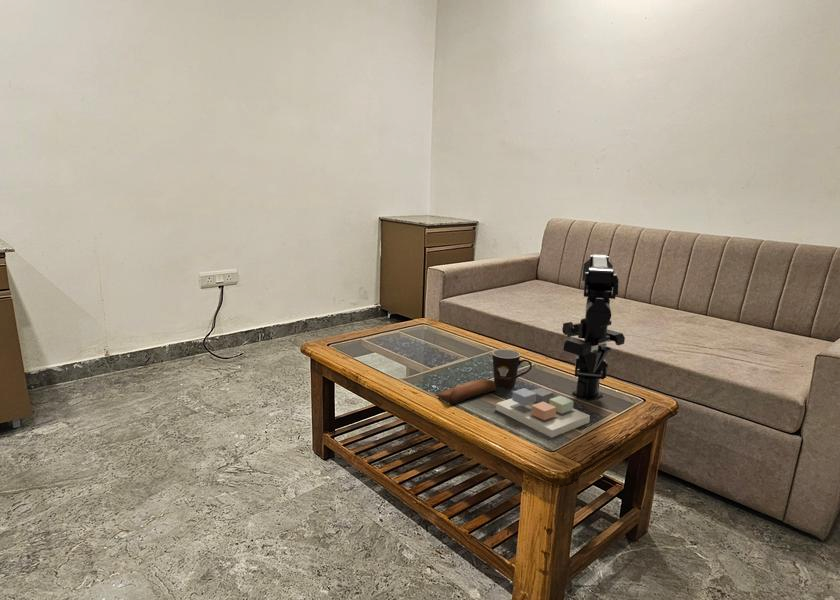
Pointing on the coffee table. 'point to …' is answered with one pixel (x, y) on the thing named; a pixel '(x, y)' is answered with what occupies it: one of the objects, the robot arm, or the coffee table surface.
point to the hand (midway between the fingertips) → (591, 372)
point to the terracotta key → (543, 410)
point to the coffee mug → (506, 367)
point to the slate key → (524, 396)
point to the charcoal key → (543, 395)
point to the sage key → (561, 404)
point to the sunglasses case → (467, 391)
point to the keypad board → (548, 426)
